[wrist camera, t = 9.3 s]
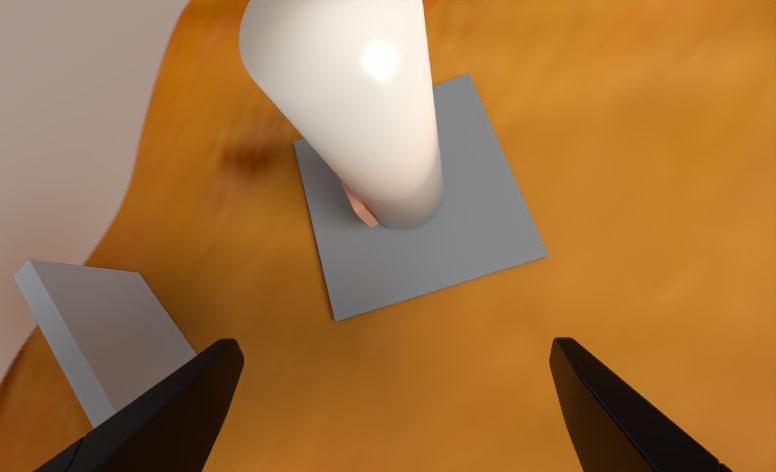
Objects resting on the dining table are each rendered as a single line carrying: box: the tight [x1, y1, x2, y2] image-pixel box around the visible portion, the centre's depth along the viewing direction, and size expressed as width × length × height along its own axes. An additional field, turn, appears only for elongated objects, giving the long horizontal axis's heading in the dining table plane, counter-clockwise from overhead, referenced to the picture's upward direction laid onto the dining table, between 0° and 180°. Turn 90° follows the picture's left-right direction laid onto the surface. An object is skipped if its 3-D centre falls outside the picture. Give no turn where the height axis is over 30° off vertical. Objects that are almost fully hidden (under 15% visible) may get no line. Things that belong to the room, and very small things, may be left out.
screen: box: [13, 260, 197, 429], centre depth 18 cm, size 10×1×6 cm, turn 47°
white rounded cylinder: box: [239, 0, 444, 231], centre depth 13 cm, size 5×5×12 cm
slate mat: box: [293, 73, 548, 322], centre depth 19 cm, size 12×12×1 cm
